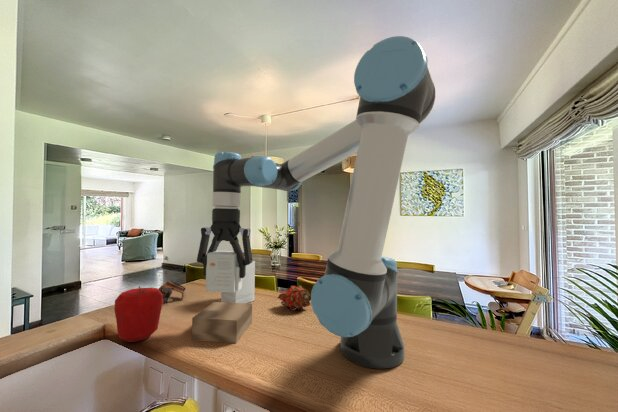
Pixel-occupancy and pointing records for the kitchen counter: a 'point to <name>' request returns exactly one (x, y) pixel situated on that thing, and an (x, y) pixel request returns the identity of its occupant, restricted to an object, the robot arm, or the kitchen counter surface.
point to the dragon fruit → (295, 298)
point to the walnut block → (222, 322)
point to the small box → (221, 271)
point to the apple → (138, 313)
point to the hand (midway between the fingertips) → (223, 288)
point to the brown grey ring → (170, 290)
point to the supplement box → (243, 288)
